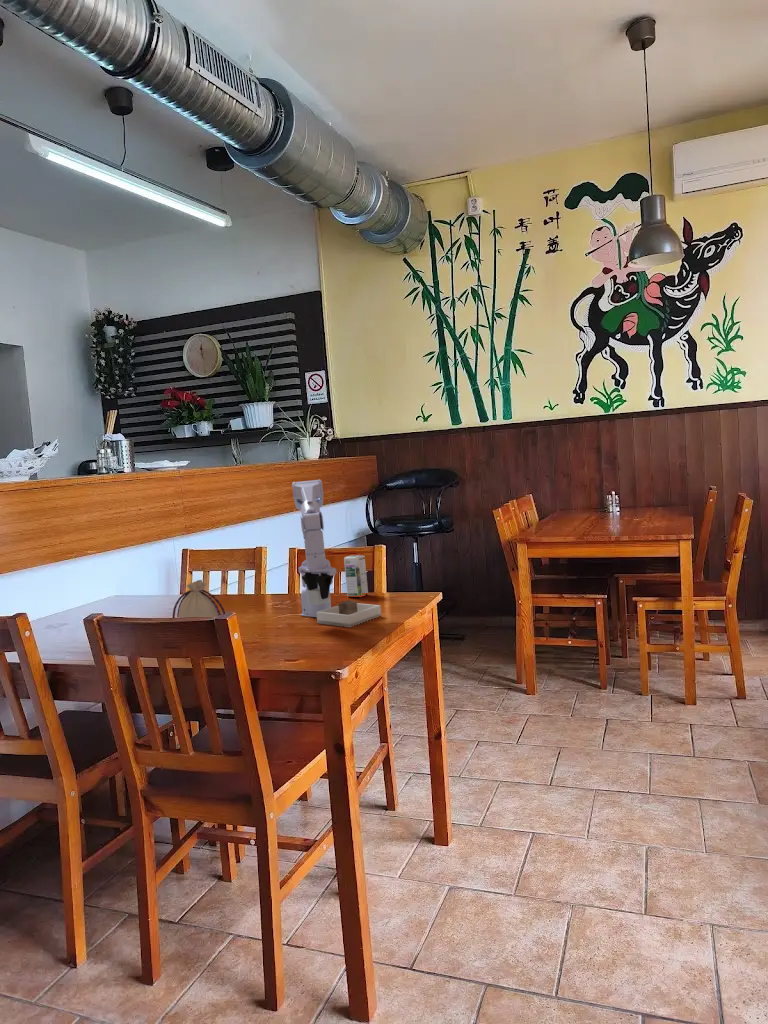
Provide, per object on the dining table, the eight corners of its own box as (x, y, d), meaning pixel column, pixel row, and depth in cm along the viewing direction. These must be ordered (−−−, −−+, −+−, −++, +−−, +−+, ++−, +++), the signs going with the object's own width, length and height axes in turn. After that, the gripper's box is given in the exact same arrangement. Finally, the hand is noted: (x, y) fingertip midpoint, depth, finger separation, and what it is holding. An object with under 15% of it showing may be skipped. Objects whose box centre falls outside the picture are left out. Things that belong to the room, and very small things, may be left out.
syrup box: (346, 598, 260) (342, 557, 259) (355, 594, 265) (351, 554, 264) (360, 598, 257) (356, 557, 256) (368, 594, 263) (365, 554, 261)
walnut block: (339, 617, 225) (338, 603, 225) (348, 614, 228) (347, 600, 228) (348, 618, 222) (347, 604, 222) (358, 615, 225) (356, 601, 225)
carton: (309, 603, 219) (308, 590, 219) (321, 600, 223) (320, 587, 222) (318, 604, 216) (317, 591, 216) (330, 601, 220) (329, 588, 219)
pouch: (248, 642, 209) (240, 576, 207) (234, 650, 201) (226, 582, 200) (172, 643, 217) (165, 580, 215) (156, 651, 209) (148, 585, 207)
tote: (317, 623, 225) (316, 612, 224) (349, 613, 235) (348, 602, 235) (349, 627, 215) (348, 615, 215) (381, 616, 226) (380, 605, 225)
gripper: (289, 554, 220) (293, 599, 221) (322, 556, 210) (326, 602, 211) (306, 550, 225) (310, 594, 226) (339, 551, 215) (344, 597, 217)
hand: (319, 597), depth 219 cm, fingers closed on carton, 4 cm apart
